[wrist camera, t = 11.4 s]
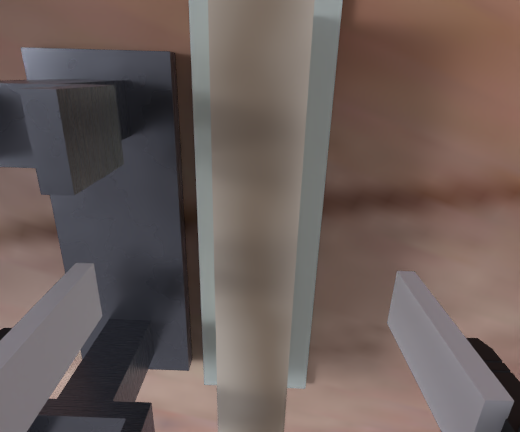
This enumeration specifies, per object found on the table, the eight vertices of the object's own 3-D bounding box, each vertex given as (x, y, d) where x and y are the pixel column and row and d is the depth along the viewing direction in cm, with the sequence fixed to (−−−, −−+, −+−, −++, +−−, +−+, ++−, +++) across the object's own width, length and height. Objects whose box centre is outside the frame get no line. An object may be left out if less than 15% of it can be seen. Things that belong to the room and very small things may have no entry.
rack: (91, 355, 28) (-24, 536, 17) (34, 48, 20) (-250, 19, 9) (192, 358, 28) (142, 543, 17) (175, 52, 20) (60, 27, 9)
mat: (205, 378, 29) (204, 384, 29) (189, -31, 19) (187, -34, 18) (304, 382, 29) (305, 388, 28) (343, -27, 19) (345, -30, 18)
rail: (228, 366, 28) (218, 439, 22) (225, 12, 19) (207, -14, 13) (280, 368, 28) (283, 442, 22) (301, 14, 19) (315, -11, 13)
